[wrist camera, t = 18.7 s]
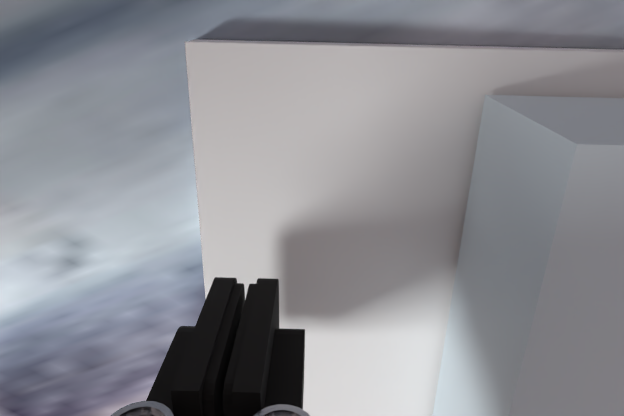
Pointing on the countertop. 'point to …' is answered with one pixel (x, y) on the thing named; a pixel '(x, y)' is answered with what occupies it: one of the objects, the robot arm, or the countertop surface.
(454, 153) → the vise
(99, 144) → the countertop surface
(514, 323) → the block
